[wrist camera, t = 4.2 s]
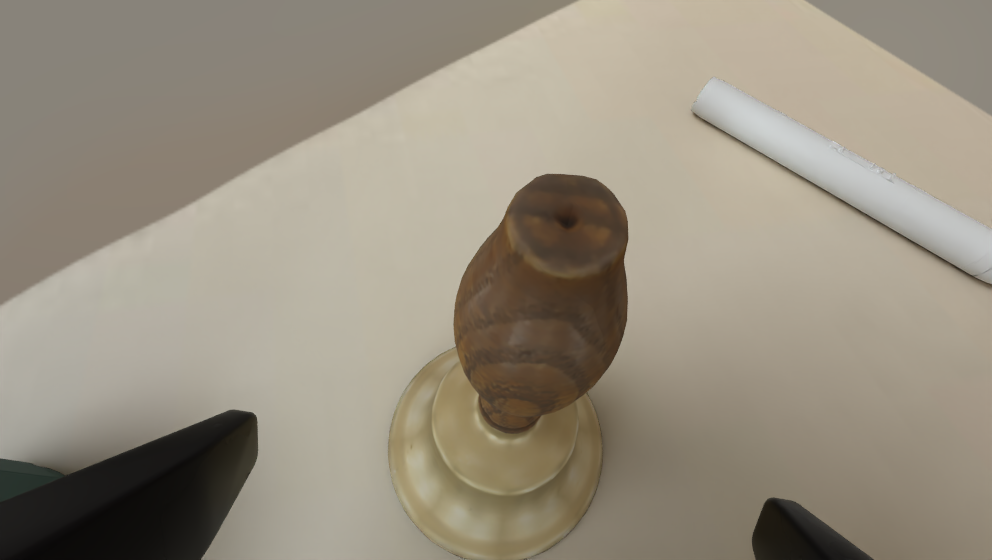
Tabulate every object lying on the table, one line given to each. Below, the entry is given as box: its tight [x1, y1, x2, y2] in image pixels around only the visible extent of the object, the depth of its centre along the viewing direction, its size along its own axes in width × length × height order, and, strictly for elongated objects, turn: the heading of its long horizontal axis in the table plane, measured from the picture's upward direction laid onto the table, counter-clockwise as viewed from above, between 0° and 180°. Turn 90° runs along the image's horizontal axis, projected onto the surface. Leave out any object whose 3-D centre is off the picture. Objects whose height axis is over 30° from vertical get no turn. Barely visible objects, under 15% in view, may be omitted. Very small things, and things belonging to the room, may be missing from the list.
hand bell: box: [388, 174, 628, 560], centre depth 12 cm, size 8×8×16 cm
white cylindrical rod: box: [691, 77, 992, 284], centre depth 25 cm, size 18×2×2 cm, turn 50°
